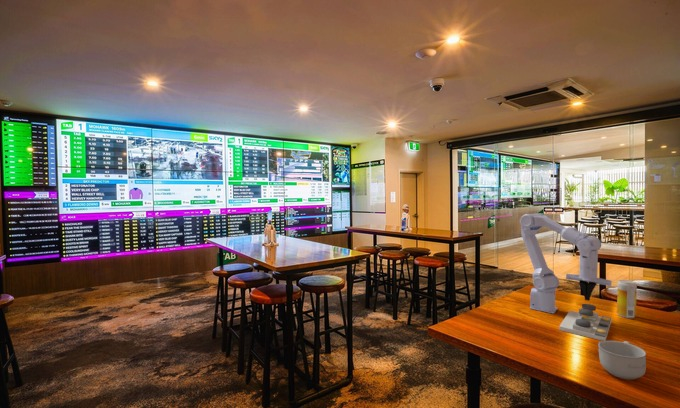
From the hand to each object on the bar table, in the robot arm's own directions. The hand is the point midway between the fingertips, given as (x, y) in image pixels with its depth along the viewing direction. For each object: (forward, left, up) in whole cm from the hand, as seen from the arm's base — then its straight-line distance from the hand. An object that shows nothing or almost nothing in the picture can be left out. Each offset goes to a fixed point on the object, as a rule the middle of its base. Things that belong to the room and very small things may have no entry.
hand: (587, 299), depth 132 cm
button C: (0, +4, -6) cm, 7 cm away
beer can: (+11, +20, -10) cm, 25 cm away
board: (0, -4, -10) cm, 10 cm away
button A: (0, -11, -8) cm, 14 cm away
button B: (0, -4, -6) cm, 7 cm away
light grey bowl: (+13, -36, -10) cm, 39 cm away
